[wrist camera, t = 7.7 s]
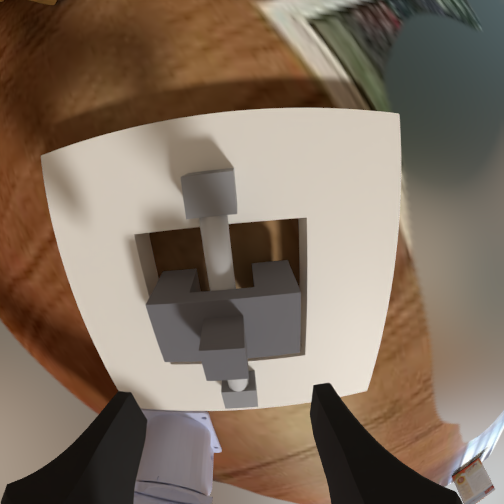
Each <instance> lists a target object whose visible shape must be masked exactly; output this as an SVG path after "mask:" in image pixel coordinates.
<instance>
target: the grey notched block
mask: <svg viewBox="0 0 504 504" xmlns="http://www.w3.org/2000/svg"><path fill="white" fill-rule="evenodd" d="M252 272H253V283H254V287H250V288H240V289H228V290H216V291H204V292H201V290H200V284H199V279H198V273H197V268H196V269H185V270H173V271H163V272H162V274H161V276H160V278H159V280H158V282H157V284H156V286H155V287H154V289H153V291H152V293H151V295H150V297H149V299H148V301H147V303H146V308H147V312H148V315H149V318H150V321H151V324H152V327H153V331H154V334H155V336H156V339H157V342H158V345H159V348H160V351H161V354H162V356H163V359H164V362H197V361H201V362H202V366H203V369H204V373H205V376H206V380H207V381H221V380H237V379H249V372H248V358H258V357H268V356H277V355H285V354H293V353H300V333H301V291H300V289H299V286H298V284H297V281H296V279H295V277H294V274H293V272H292V269H291V267H290V265H289V262H288V260H282V261H272V262H261V263H252Z"/></svg>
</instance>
